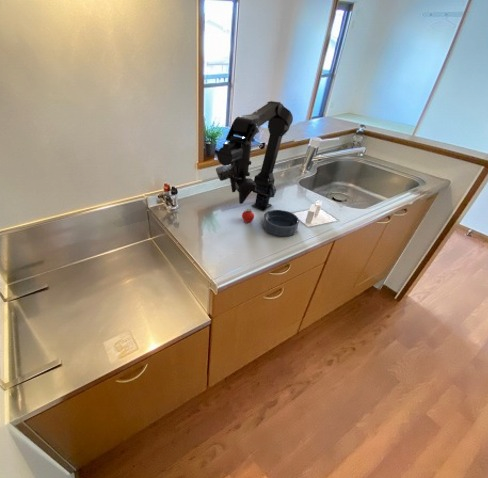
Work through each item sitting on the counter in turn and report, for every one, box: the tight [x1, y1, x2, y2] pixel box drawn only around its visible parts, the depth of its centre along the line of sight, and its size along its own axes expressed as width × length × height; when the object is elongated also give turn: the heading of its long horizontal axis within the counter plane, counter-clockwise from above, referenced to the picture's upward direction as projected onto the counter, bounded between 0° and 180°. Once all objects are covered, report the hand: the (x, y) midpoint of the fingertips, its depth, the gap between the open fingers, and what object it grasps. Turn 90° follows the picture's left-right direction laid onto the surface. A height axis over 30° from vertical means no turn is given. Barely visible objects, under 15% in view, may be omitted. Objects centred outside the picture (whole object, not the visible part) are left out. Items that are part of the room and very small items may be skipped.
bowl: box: [262, 209, 300, 237], centre depth 108 cm, size 13×13×4 cm
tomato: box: [241, 208, 255, 224], centre depth 111 cm, size 5×5×5 cm
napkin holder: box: [292, 199, 338, 228], centre depth 114 cm, size 15×11×6 cm
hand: (237, 197), depth 102 cm, fingers open, 9 cm apart
